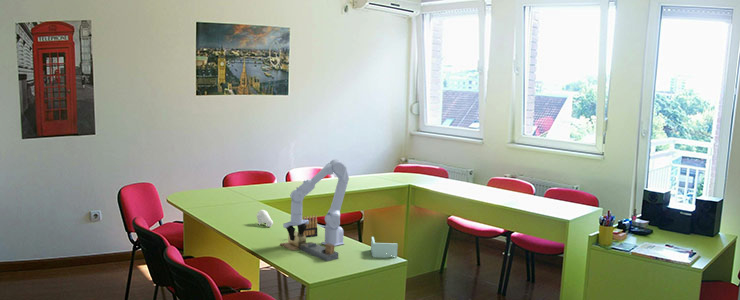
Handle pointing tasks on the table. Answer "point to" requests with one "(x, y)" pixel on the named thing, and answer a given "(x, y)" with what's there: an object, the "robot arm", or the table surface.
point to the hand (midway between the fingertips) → (295, 239)
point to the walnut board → (289, 246)
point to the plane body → (320, 251)
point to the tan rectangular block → (297, 239)
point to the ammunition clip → (311, 227)
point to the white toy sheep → (264, 218)
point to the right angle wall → (383, 249)
